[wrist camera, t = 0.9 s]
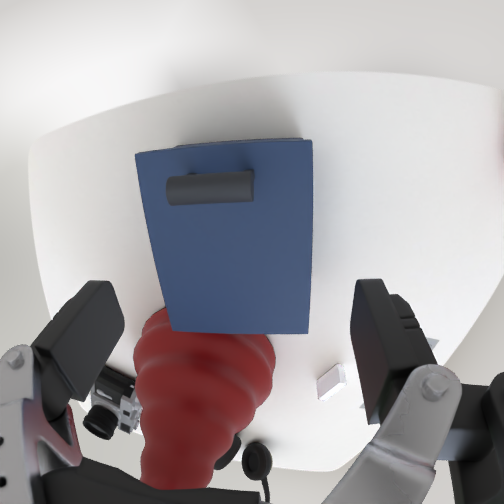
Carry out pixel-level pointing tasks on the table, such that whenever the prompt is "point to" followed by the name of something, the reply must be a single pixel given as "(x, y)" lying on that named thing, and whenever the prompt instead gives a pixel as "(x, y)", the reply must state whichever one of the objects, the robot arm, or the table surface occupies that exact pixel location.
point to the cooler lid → (232, 234)
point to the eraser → (331, 382)
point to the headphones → (250, 462)
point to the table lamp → (195, 398)
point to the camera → (112, 405)
